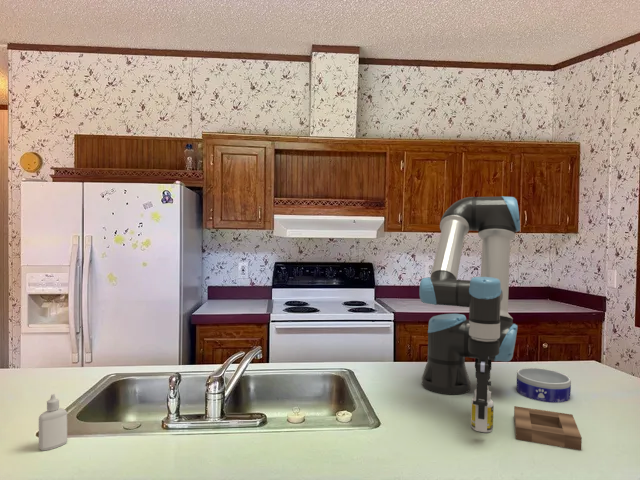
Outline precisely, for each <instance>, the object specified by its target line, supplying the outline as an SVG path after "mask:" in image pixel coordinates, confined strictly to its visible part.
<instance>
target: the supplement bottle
mask: <svg viewBox="0 0 640 480" xmlns="http://www.w3.org/2000/svg"><path fill="white" fill-rule="evenodd" d="M476 391H477V388H475V389H474V396H473V397H472V399H471V403H470V404H471V405H470V408H471V409H470V427H471V429H473V430H474V431H476V430H475V413H476V405H475V404H473V401H476ZM491 398H492V391H491V390H490V389H489V390H487V403H488V409H487V432H486V433H491V432H493V430H494V405H495V404H494V401H493V400H492V399H491ZM479 400H482V399H479ZM483 401H485V400H483ZM478 432H479V433H483V432H482V431H478Z"/></svg>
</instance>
